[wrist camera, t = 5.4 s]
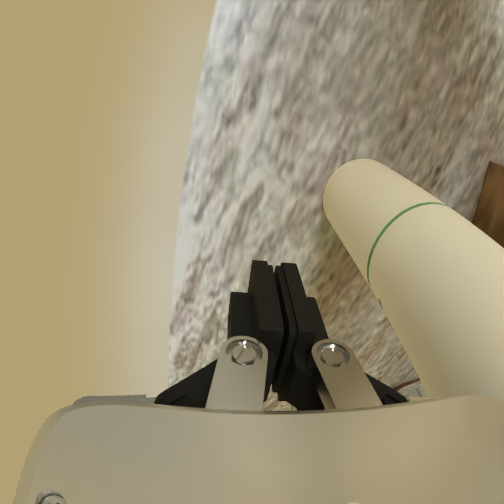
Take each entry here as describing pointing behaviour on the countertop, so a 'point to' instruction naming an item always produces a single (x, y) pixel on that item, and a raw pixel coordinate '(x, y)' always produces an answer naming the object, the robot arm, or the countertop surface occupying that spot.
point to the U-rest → (492, 205)
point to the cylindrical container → (425, 276)
